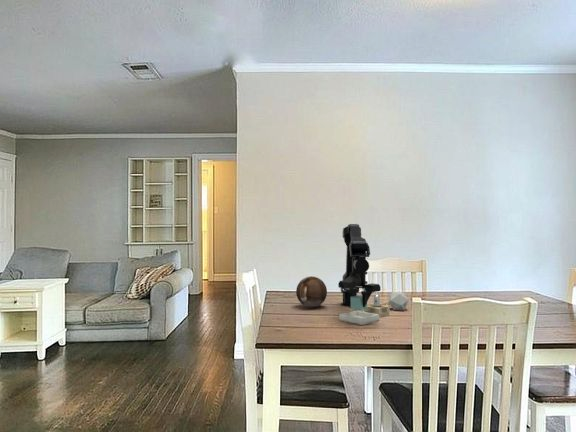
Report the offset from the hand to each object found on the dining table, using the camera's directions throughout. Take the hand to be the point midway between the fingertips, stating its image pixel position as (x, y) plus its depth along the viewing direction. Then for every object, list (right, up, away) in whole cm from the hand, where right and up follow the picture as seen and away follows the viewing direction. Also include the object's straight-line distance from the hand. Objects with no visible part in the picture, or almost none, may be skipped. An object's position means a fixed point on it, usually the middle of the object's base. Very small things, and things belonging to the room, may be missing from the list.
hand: (359, 306), depth 201 cm
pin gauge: (+10, -6, +10) cm, 15 cm away
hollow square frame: (+10, -6, +10) cm, 15 cm away
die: (+22, -6, +22) cm, 32 cm away
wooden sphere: (-19, -6, +29) cm, 35 cm away
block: (0, -1, 0) cm, 1 cm away
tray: (0, -6, 0) cm, 6 cm away
